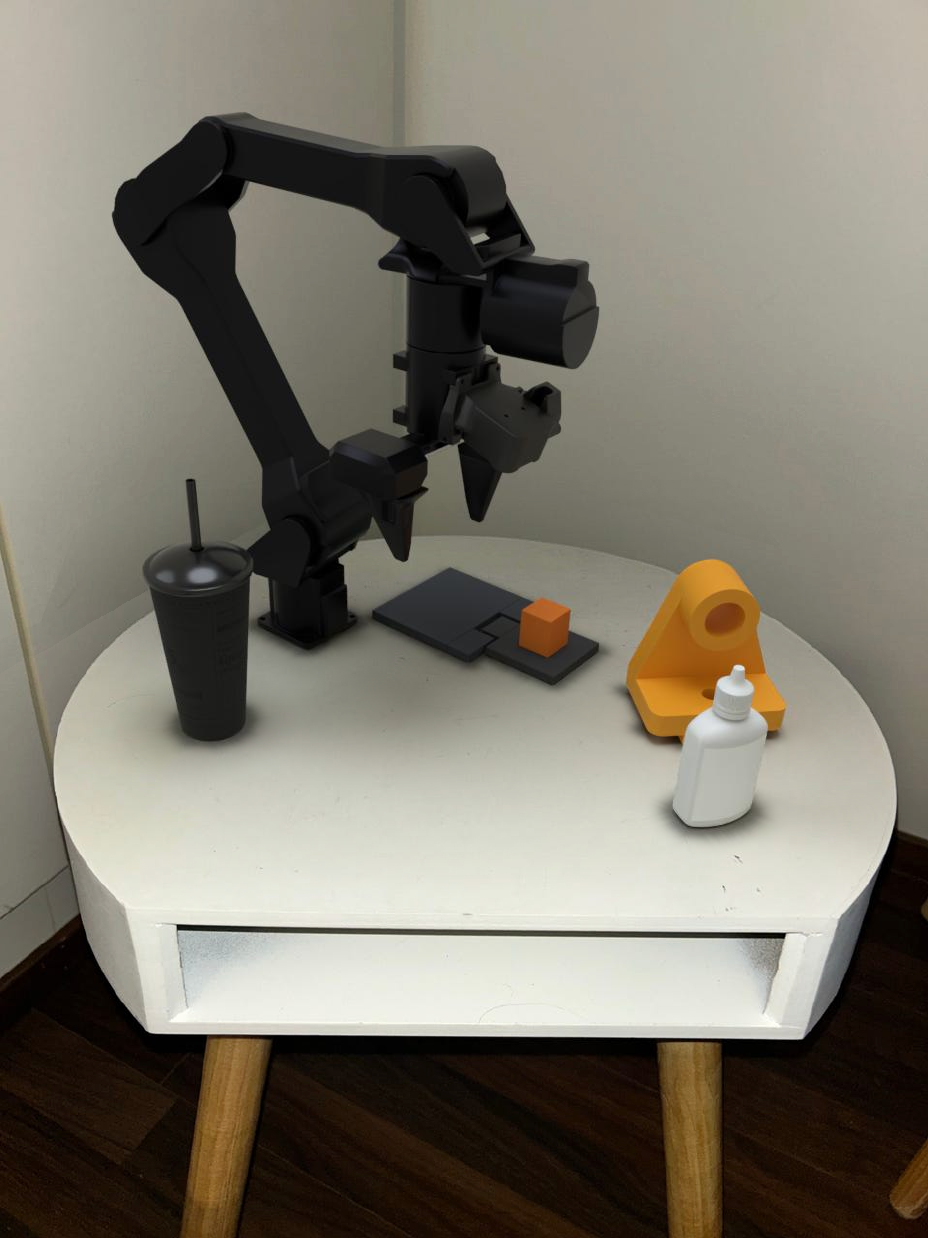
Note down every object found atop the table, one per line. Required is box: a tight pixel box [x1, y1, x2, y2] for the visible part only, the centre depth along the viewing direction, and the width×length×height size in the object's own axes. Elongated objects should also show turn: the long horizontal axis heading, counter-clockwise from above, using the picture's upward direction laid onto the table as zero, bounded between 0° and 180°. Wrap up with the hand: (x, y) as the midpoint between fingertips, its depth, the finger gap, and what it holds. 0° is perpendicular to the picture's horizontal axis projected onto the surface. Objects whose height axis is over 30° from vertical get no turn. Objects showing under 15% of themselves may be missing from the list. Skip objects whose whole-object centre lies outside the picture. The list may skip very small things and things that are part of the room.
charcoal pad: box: [371, 566, 535, 663], centre depth 99 cm, size 11×11×1 cm
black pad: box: [481, 596, 600, 686], centre depth 94 cm, size 9×7×4 cm
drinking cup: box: [141, 477, 254, 742], centre depth 79 cm, size 8×8×20 cm
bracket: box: [625, 558, 787, 745], centre depth 85 cm, size 11×7×12 cm, turn 98°
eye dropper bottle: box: [672, 665, 768, 828], centre depth 75 cm, size 4×6×12 cm
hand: (440, 539), depth 86 cm, fingers open, 9 cm apart
